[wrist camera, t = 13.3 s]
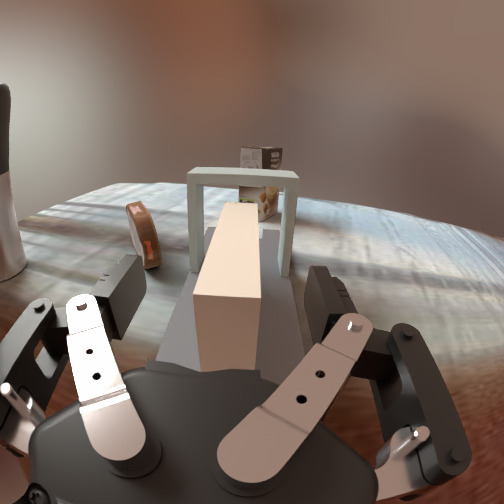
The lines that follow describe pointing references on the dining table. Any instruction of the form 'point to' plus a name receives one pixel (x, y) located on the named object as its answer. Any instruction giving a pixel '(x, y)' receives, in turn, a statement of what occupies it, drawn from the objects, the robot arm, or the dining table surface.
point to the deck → (270, 319)
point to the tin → (144, 234)
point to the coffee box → (260, 194)
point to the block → (230, 292)
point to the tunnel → (240, 178)
